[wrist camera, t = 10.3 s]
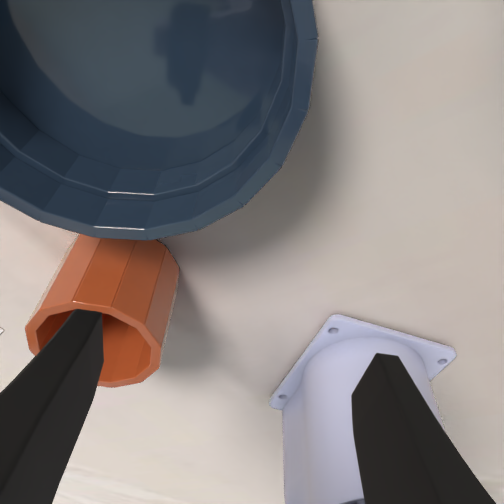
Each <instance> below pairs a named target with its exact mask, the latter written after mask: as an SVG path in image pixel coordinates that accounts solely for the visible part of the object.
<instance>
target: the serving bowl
mask: <svg viewBox="0 0 504 504" xmlns="http://www.w3.org/2000/svg"><path fill="white" fill-rule="evenodd" d="M317 48H318V30H317V24H316V18H315V12H314V6H313V0H0V201H2V202H4V203H6V204H8V205H10V206H11V207H13V208H15V209H17V210H19V211H21V212H22V213H24V214H26V215H28V216H30V217H32V218H34V219H35V220H37V221H40V222H42V223H45V224H49V225H52V226H55V227H59V228H62V229H65V230H69V231H72V232H76V233H79V234H82V235H86V236H89V237H93V238H94V237H95V238H105V239H123V240H141V241H148V240H149V241H151V240H155V239H160V238H165V237H170V236H175V235H180V234H185V233H189V232H194V231H198V230H201V229H203V228H205V227H206V226H208V225H210V224H212V223H214V222H216V221H218V220H220V219H221V218H223V217H225V216H227V215H229V214H231V213H233V212H234V211H236V210H238V209H240V208H242V207H243V206H244V205H246V204H247V203H248V202H249V201H250V200H251V199H252V198H253V197H254V196H255V195H256V194H257V193H258V192H259V190H260V189H261V188H262V187H263V186H264V185H265V184H266V183H267V182H268V181H269V180H270V179H271V178H272V177H273V176H274V175H275V174H276V173H277V172H278V171H279V170H280V169H281V167H282V166H283V165H284V163H285V161H286V158H287V156H288V154H289V152H290V150H291V148H292V146H293V144H294V142H295V140H296V137H297V135H298V133H299V131H300V129H301V127H302V125H303V123H304V121H305V118H306V116H307V114H308V110H309V108H310V101H311V94H312V86H313V79H314V71H315V63H316V56H317Z"/></svg>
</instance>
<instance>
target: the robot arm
mask: <svg viewBox="0 0 504 504" xmlns="http://www.w3.org/2000/svg"><path fill="white" fill-rule="evenodd" d="M332 328H333V329H332ZM456 355H457V354H456V351H455V349H454V348H453V347H450V346H447V345H443V344H440V343H437V342H433V341H430V340H426V339H423V338H419V337H416V336H413V335H409V334H406V333H402V332H399V331H396V330H392V329H389V328H385V327H382V326H378V325H375V324H372V323H368V322H365V321H361V320H358V319H354V318H351V317H348V316H344V315H340V314H334V315H332V316H330V317H329V318H328V320H327V321H326V322H325V324H324V325H323V326H322V328H321V329H320V331H319V332H318V333H317V335H316V336H315V337H314V339H313V340H312V341H311V343H310V344H309V346H308V347H307V348H306V350H305V351H304V352H303V354H302V355H301V356H300V358H299V359H298V361H297V362H296V363H295V365H294V366H293V367H292V369H291V370H290V372H289V373H288V374H287V376H286V377H285V378H284V380H283V381H282V382H281V384H280V385H279V387H278V388H277V389H276V391H275V392H274V393H273V395H272V396H271V397H270V399H269V405H270V406H271V407H272V408H275V409H279V410H282V415H283V463H284V498H285V504H496V503H495V502H494V500H493V499H492V498H491V497H490V495H489V494H488V493H487V491H486V490H485V489H484V487H483V486H482V485H481V483H480V482H479V481H478V479H477V478H476V477H475V475H474V474H473V472H472V471H471V470H470V468H469V467H468V465H467V464H466V462H465V461H464V460H463V458H462V457H461V455H460V454H459V452H458V451H457V449H456V448H455V446H454V445H453V443H452V442H451V440H450V439H449V437H448V436H447V434H446V431H445V428H444V425H443V422H442V419H441V416H440V413H439V409H438V406H437V403H436V400H435V397H434V394H433V390H432V387H431V384H430V380H432V379H433V378H434V377H435V376H436V375H437V374H438V373H439V372H440V371H441V370H443V369H444V368H445V367H446V366H447V365H448V364H449V363H450V362H451V361H452V360H454V359H455V357H456ZM103 363H104V350H103V326H102V312H97V311H90V310H83V309H76V310H74V311H73V312H72V313H71V314H70V316H69V317H68V318H67V319H66V321H65V322H64V323H63V324H62V326H61V327H60V328H59V329H58V331H57V332H56V333H55V334H54V335H53V337H52V338H51V339H50V340H49V341H48V342H47V344H46V345H45V346H44V347H43V348H42V349H41V351H40V352H39V353H38V354H37V355H36V356H35V357H34V358H33V359H32V360H31V362H30V363H29V364H28V365H27V366H26V367H25V368H24V369H23V370H22V371H21V372H20V373H19V374H18V376H17V377H16V378H15V379H14V380H13V381H12V382H11V383H10V384H9V385H8V386H7V387H6V388H5V389H4V390H3V391H2V392H1V393H0V504H52V502H53V499H54V497H55V494H56V491H57V488H58V485H59V483H60V481H61V478H62V476H63V473H64V471H65V468H66V466H67V463H68V461H69V458H70V456H71V453H72V451H73V448H74V446H75V444H76V441H77V439H78V436H79V434H80V431H81V429H82V426H83V424H84V421H85V419H86V416H87V414H88V411H89V409H90V406H91V404H92V401H93V398H94V395H95V391H96V388H97V385H98V381H99V378H100V374H101V370H102V367H103Z"/></svg>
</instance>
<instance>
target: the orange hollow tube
mask: <svg viewBox="0 0 504 504" xmlns="http://www.w3.org/2000/svg"><path fill="white" fill-rule="evenodd" d="M179 272H180V269H179V266H178V265H177V263H176V262H175V260H174V258H173V257H172V255H171V253H170V252H169V250H168V248H167V247H166V246H165V245H163V244H162V243H160V242H158V241H157V240H151V241H149V240H148V241H141V240H123V239H105V238H95V237H94V238H93V237H89V236H86V235H82V234H79V235H78V237H77V238H76V239H75V241H74V242H73V243H72V245H71V246H70V247H69V248H68V250H67V251H66V253H65V255H64V257H63V259H62V260H61V262H60V264H59V266H58V268H57V270H56V271H55V273H54V275H53V277H52V279H51V280H50V282H49V284H48V286H47V288H46V290H45V291H44V293H43V295H42V297H41V299H40V300H39V302H38V304H37V306H36V308H35V310H34V311H33V313H32V315H31V317H30V319H29V320H28V322H27V324H26V326H25V332H26V336H27V341H28V346H29V350H30V351H31V352H32V353H33V354H34V355H35V356H36V355H37V354H38V353H39V352H40V351H41V349H42V348H43V347H44V346H45V345H46V344H47V342H48V341H49V340H50V339H51V338H52V337H53V335H54V334H55V333H56V332H57V331H58V329H59V328H60V327H61V326H62V324H63V323H64V322H65V321H66V319H67V318H68V317H69V316H70V314H71V313H72V312H73V311H74V310H76V309H83V310H90V311H97V312H102V326H103V350H104V363H103V367H102V370H101V374H100V378H99V381H98V385H97V386H103V387H111V388H113V387H114V388H115V387H120V386H125V385H131V384H136V383H141V382H143V381H144V380H145V379H146V378H148V377H149V376H150V375H151V374H153V373H154V372H155V371H156V370H158V369H159V367H160V364H161V360H162V355H163V351H164V346H165V342H166V338H167V333H168V329H169V324H170V320H171V316H172V311H173V307H174V302H175V298H176V294H177V289H178V281H179Z"/></svg>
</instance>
